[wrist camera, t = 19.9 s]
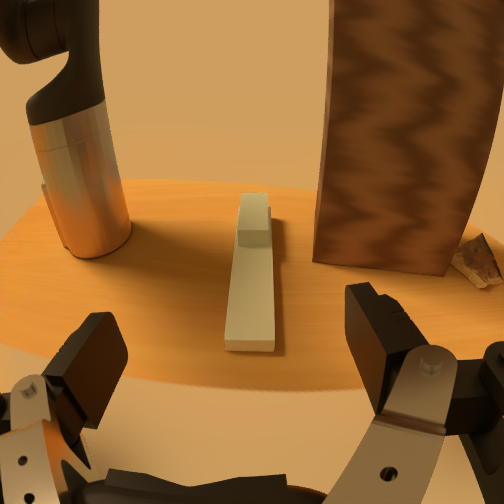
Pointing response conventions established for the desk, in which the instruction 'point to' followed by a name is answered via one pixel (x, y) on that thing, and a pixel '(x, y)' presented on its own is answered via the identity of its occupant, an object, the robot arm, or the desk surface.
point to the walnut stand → (406, 129)
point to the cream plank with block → (251, 279)
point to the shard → (477, 262)
